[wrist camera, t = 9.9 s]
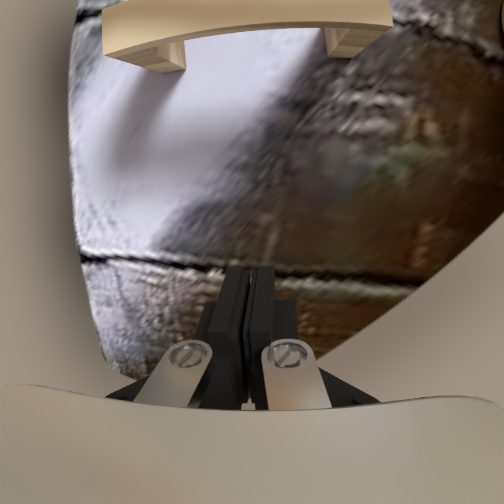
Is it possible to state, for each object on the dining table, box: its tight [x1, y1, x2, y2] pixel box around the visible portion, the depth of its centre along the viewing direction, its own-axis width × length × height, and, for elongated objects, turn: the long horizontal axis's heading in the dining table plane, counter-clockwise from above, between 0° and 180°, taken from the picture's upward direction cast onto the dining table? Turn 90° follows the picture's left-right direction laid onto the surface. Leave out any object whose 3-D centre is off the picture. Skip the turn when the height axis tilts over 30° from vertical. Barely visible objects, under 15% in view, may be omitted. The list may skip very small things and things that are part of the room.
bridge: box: [102, 0, 393, 74], centre depth 16 cm, size 3×15×10 cm, turn 95°
